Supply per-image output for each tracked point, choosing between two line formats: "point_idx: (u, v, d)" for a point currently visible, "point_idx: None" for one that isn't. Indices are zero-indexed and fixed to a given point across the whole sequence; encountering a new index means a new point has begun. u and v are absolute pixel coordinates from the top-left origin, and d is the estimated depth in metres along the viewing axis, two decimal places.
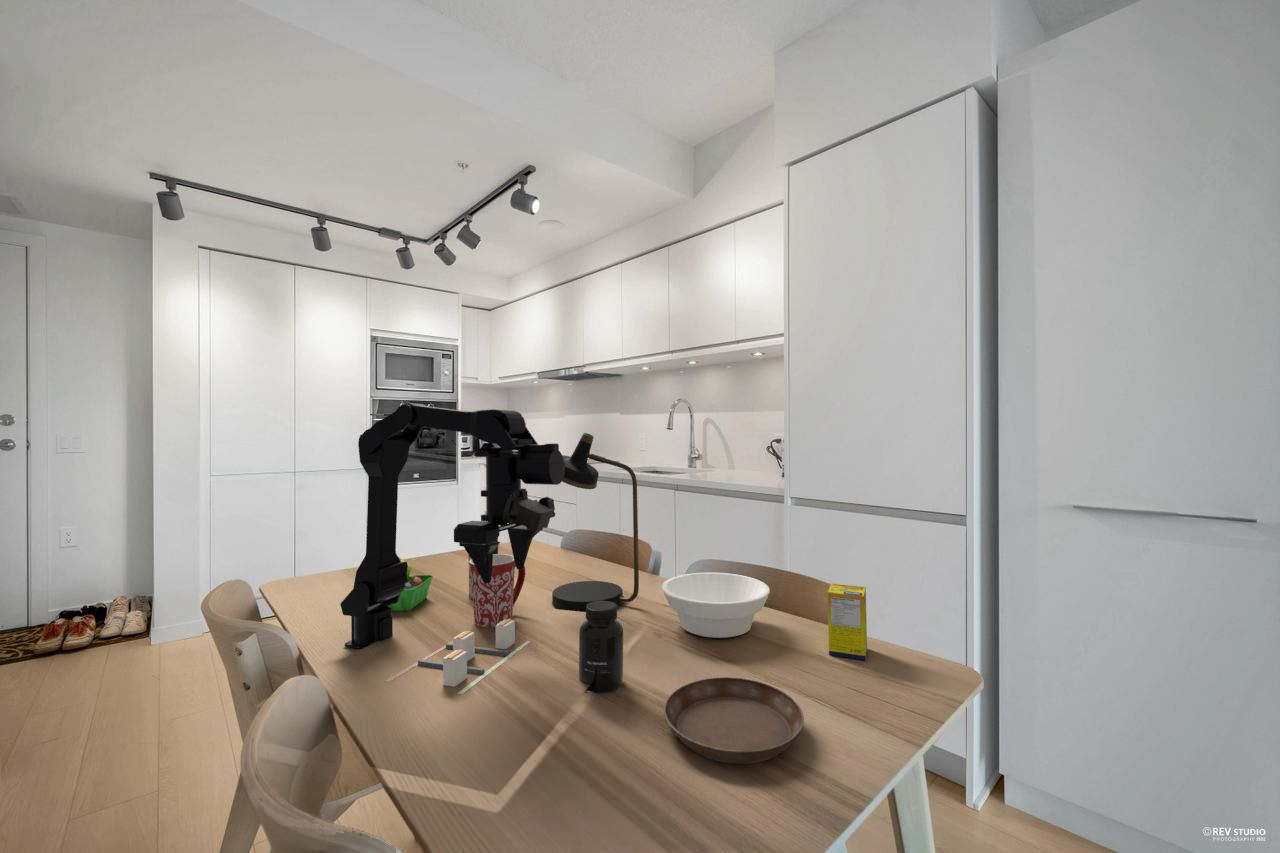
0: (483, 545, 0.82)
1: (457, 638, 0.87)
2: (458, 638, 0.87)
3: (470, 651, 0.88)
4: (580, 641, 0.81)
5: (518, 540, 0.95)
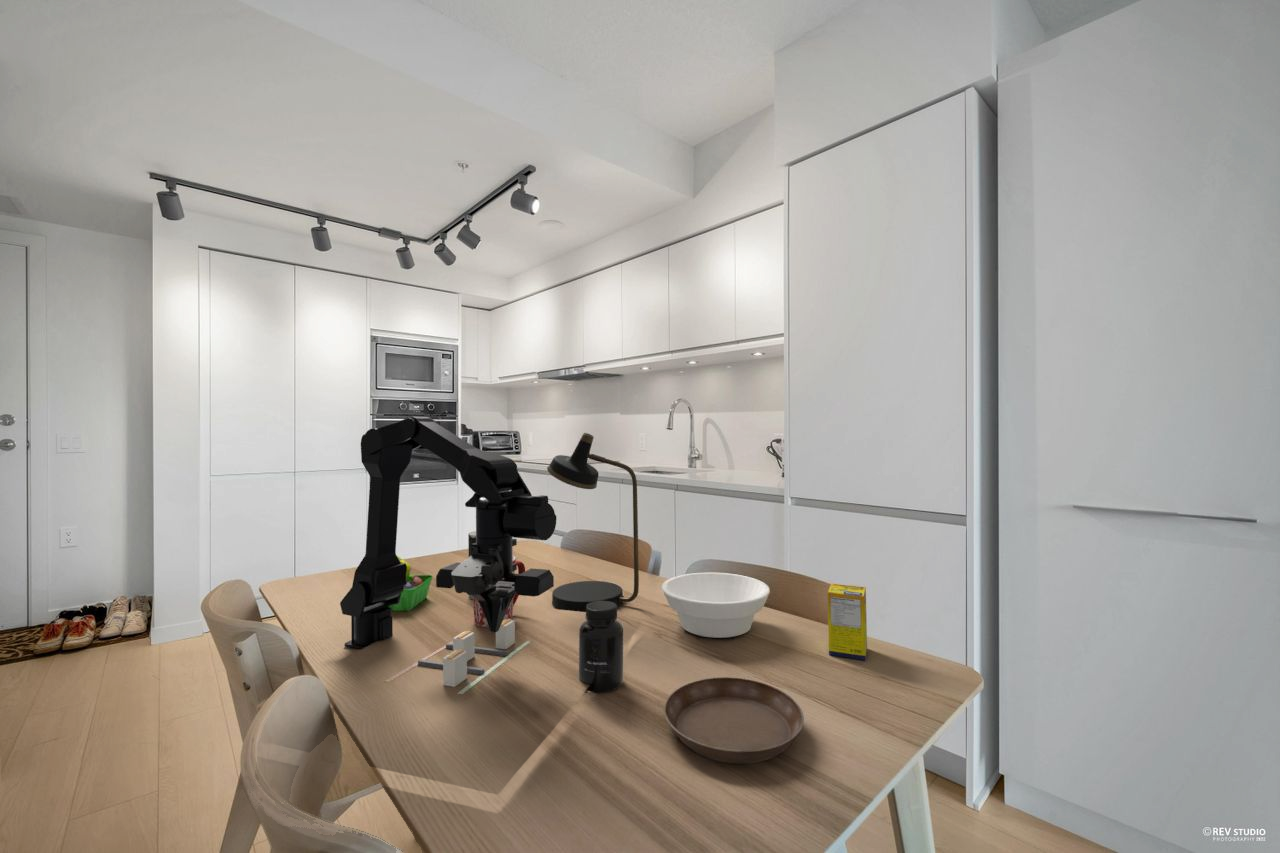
0: None
1: (457, 638, 0.87)
2: (458, 638, 0.87)
3: (470, 651, 0.88)
4: (580, 641, 0.81)
5: None
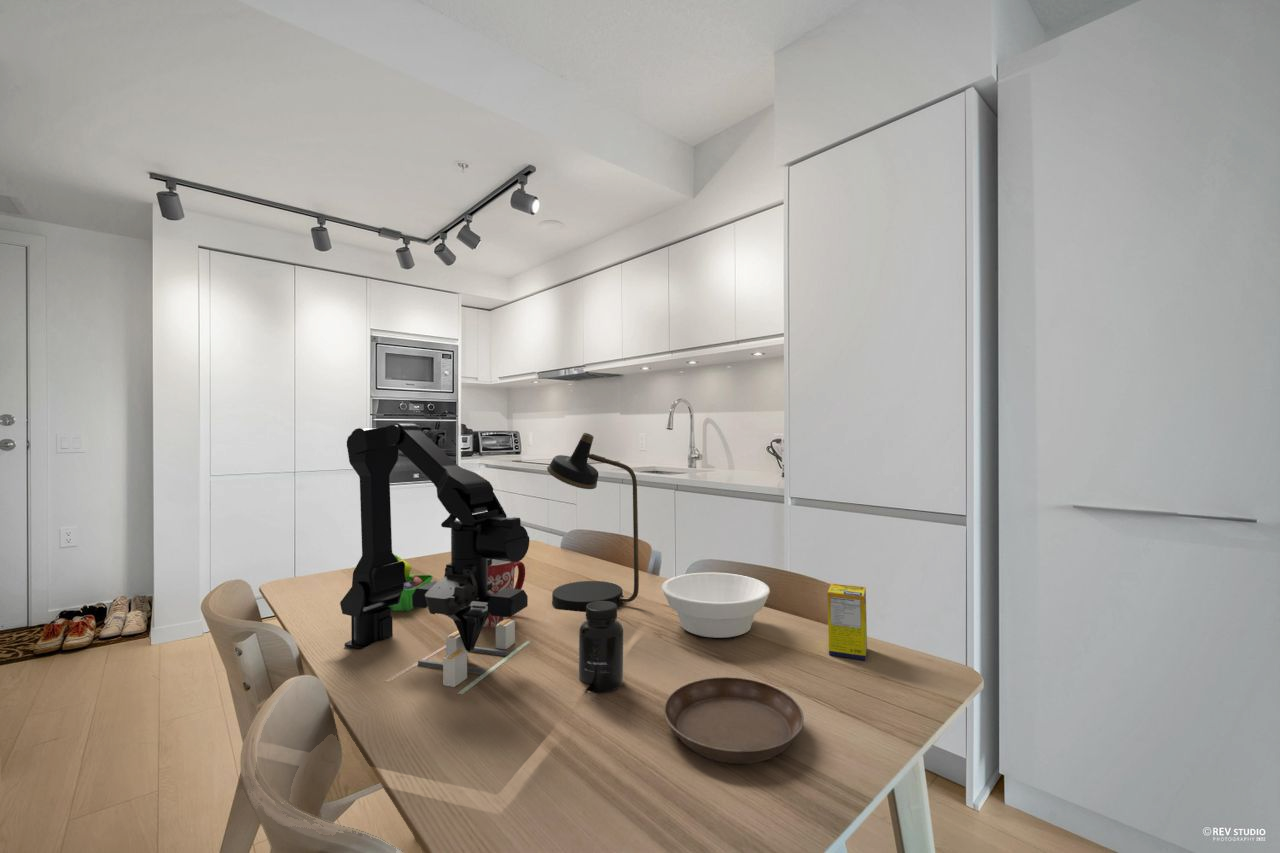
0: None
1: (450, 637, 0.87)
2: (451, 637, 0.87)
3: None
4: (580, 641, 0.81)
5: None
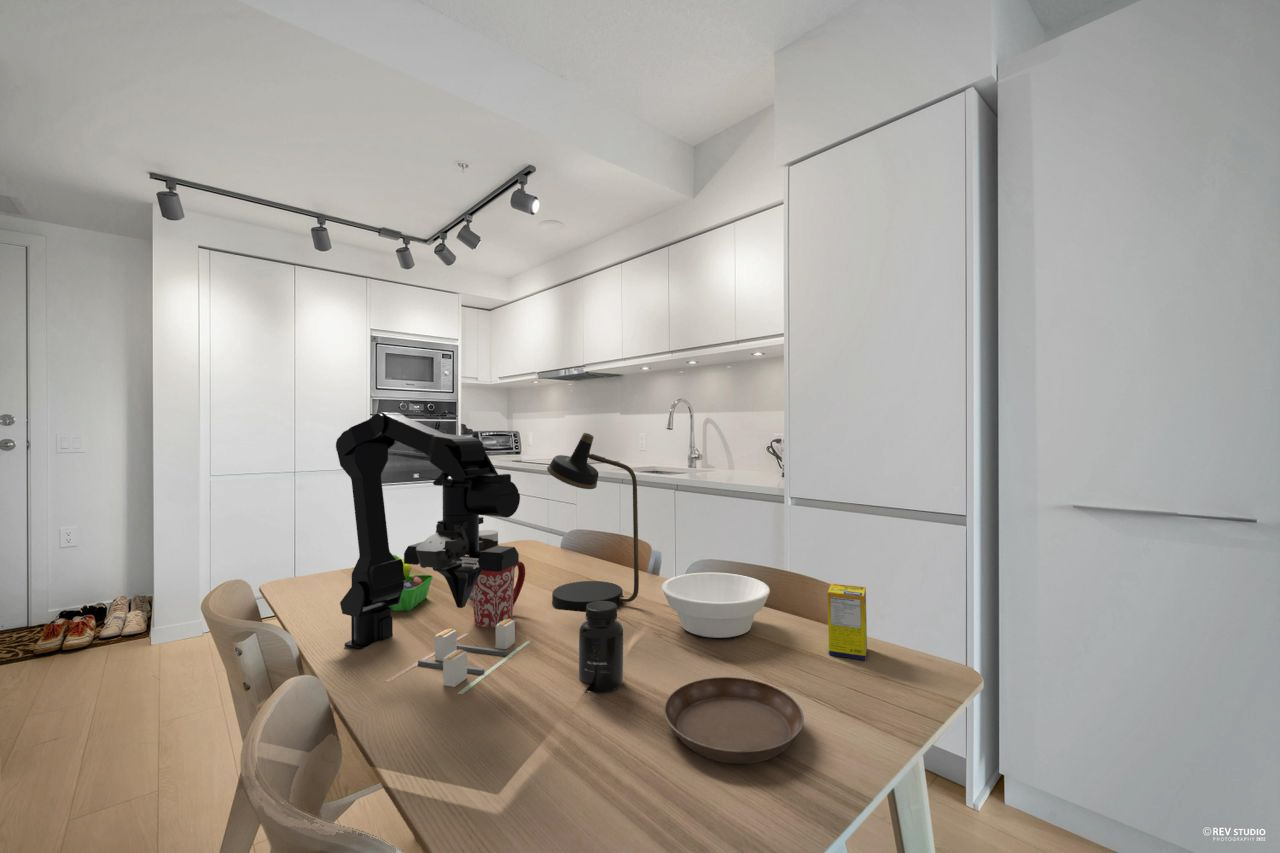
0: None
1: (439, 636, 0.88)
2: (440, 636, 0.88)
3: (452, 649, 0.89)
4: (580, 641, 0.81)
5: None
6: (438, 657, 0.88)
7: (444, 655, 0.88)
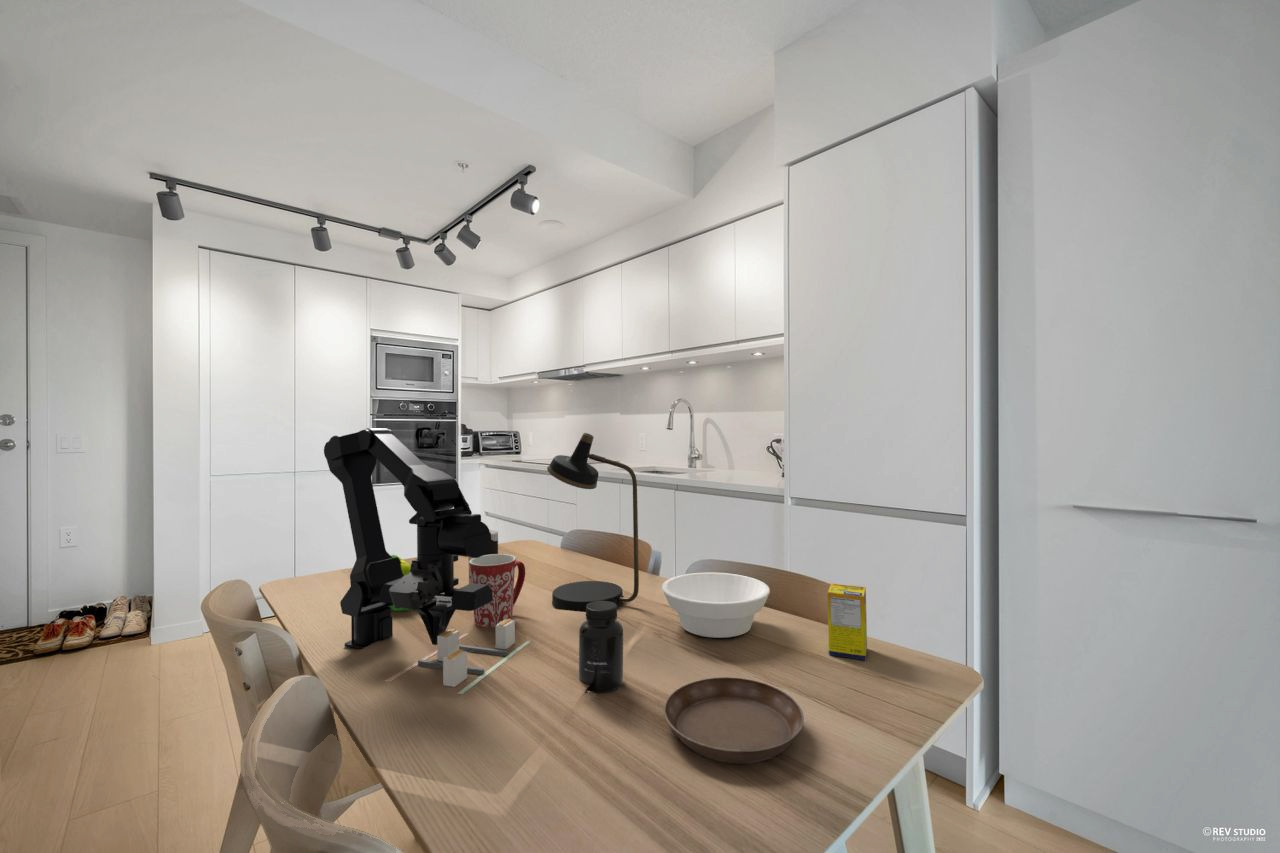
0: None
1: (442, 636, 0.88)
2: (442, 636, 0.88)
3: (454, 649, 0.89)
4: (580, 641, 0.81)
5: None
6: (441, 657, 0.88)
7: None
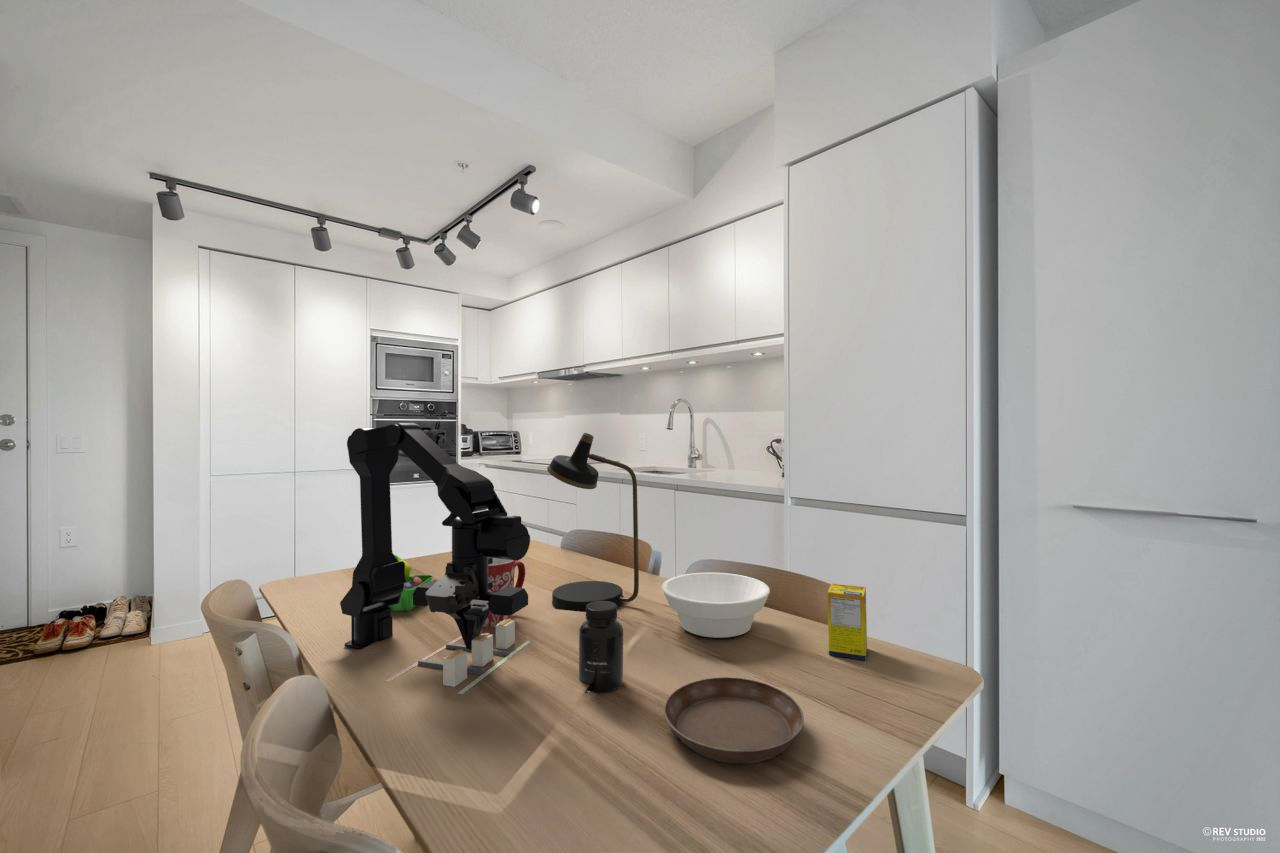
0: None
1: (476, 640, 0.86)
2: (477, 640, 0.86)
3: (489, 654, 0.87)
4: (580, 641, 0.81)
5: None
6: (475, 662, 0.86)
7: (481, 660, 0.85)
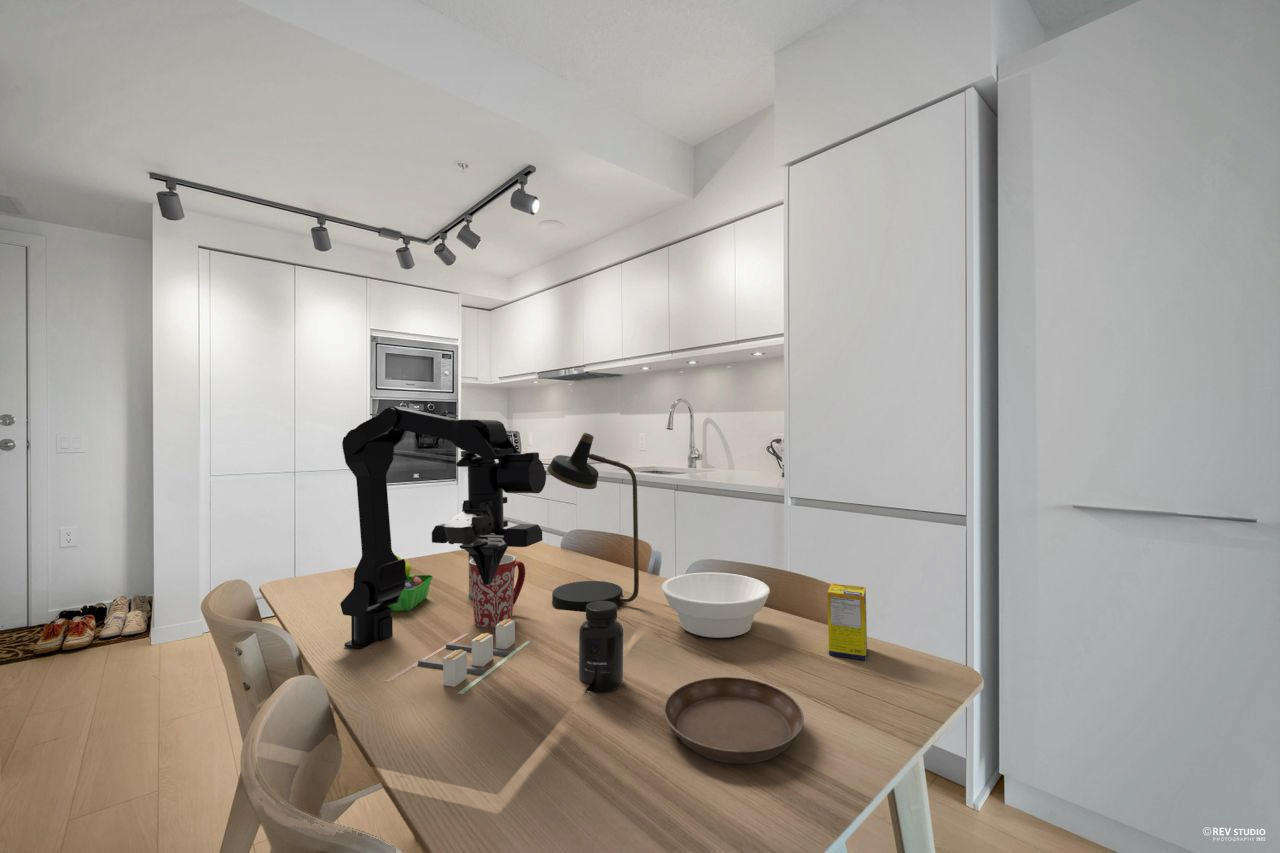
0: (461, 545, 0.90)
1: (476, 640, 0.86)
2: (477, 640, 0.86)
3: (488, 654, 0.87)
4: (580, 641, 0.81)
5: None
6: (475, 662, 0.86)
7: (481, 660, 0.85)
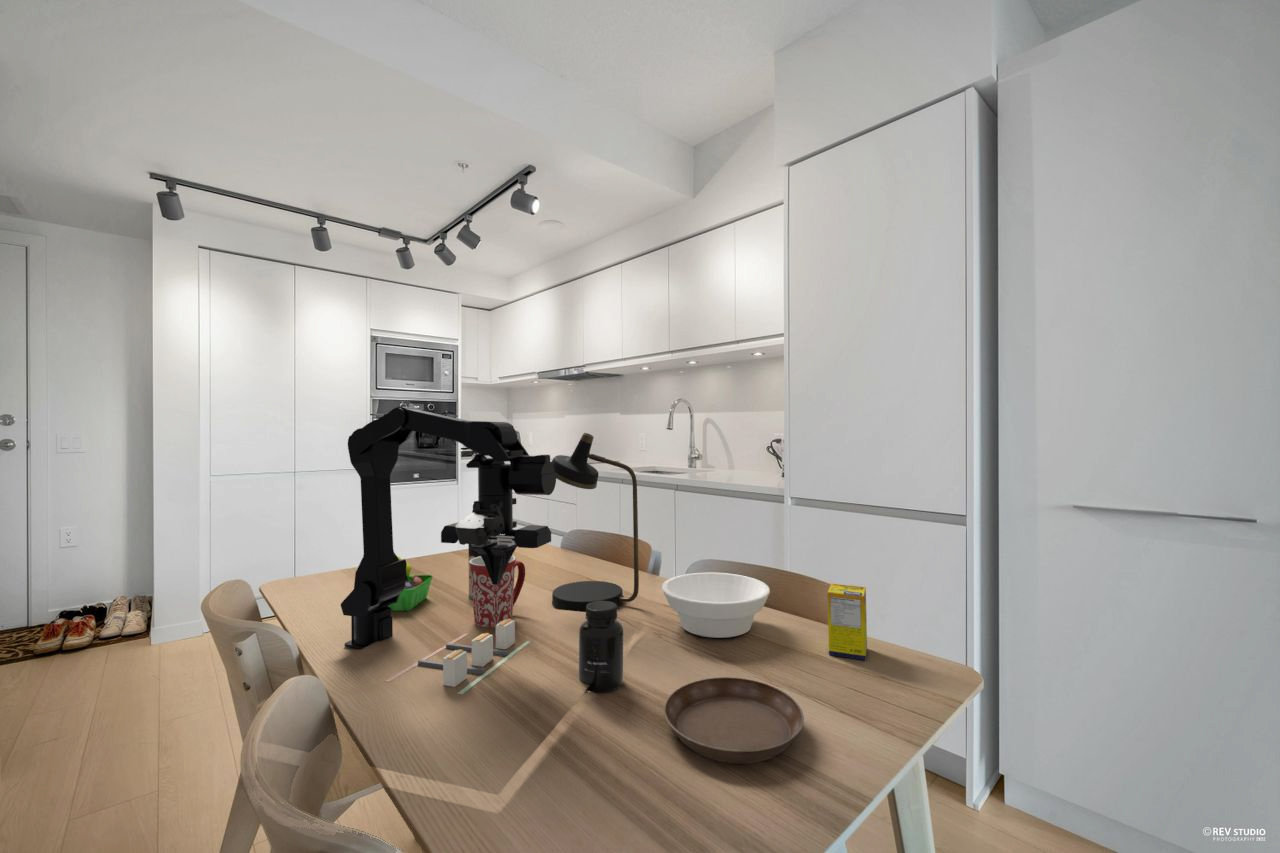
0: (471, 545, 0.91)
1: (476, 640, 0.86)
2: (477, 640, 0.86)
3: (488, 654, 0.87)
4: (580, 641, 0.81)
5: None
6: (475, 662, 0.86)
7: (481, 660, 0.85)
